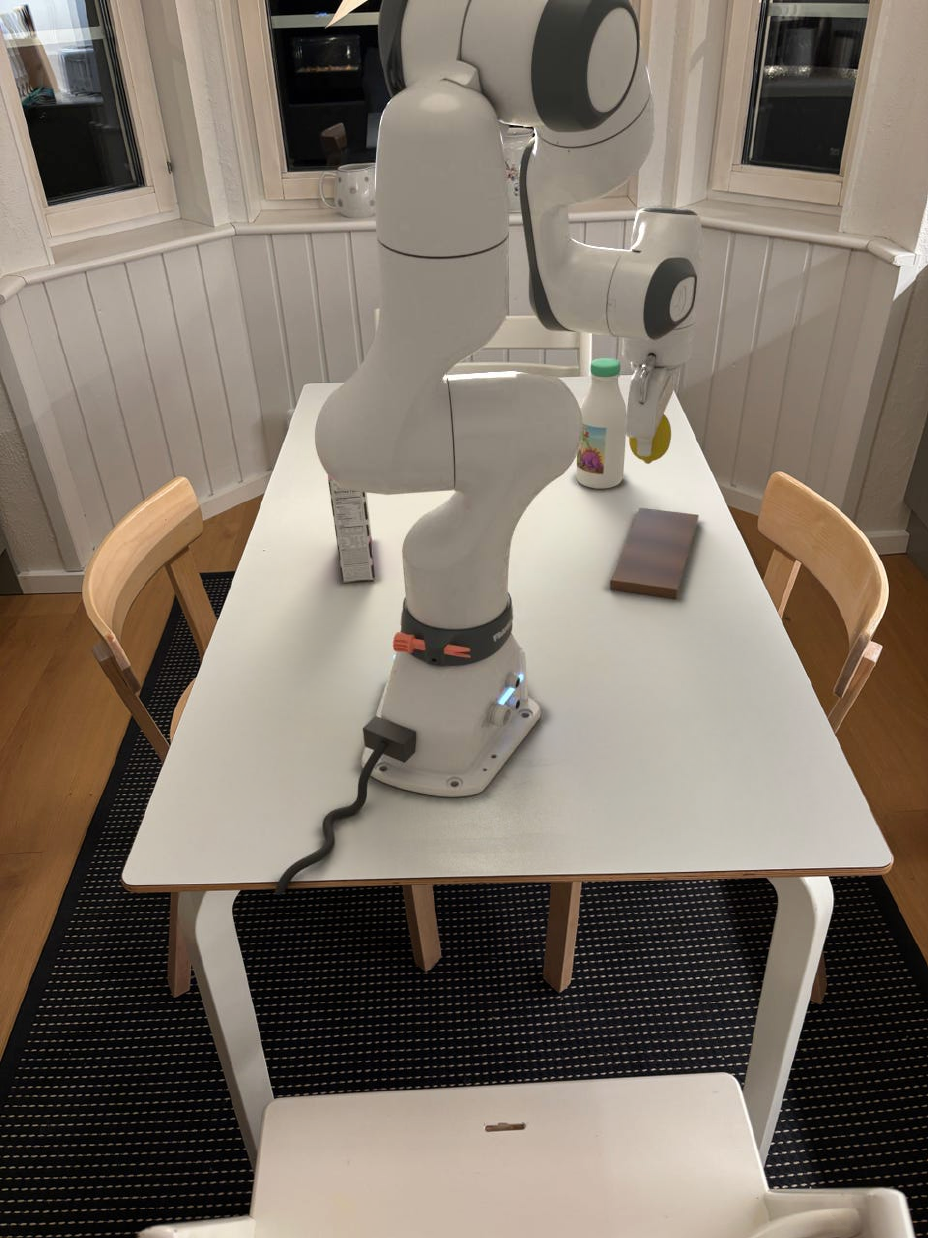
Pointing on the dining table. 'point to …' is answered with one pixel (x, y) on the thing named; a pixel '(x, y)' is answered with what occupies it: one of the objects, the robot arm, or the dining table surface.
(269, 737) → the dining table surface
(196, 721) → the dining table surface
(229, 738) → the dining table surface
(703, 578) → the dining table surface
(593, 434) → the milk bottle
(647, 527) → the serving board
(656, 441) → the lemon
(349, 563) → the candy bar box
